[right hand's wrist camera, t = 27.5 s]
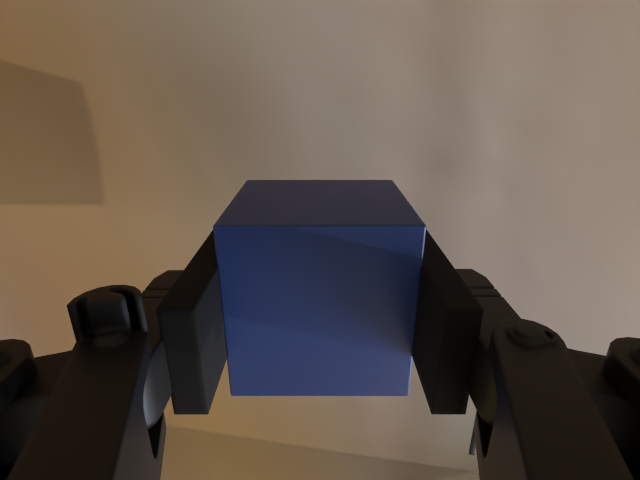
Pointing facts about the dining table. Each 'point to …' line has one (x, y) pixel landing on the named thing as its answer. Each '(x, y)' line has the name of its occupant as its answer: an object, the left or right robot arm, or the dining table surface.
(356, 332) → the blue cube
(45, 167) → the dining table surface
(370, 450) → the dining table surface
